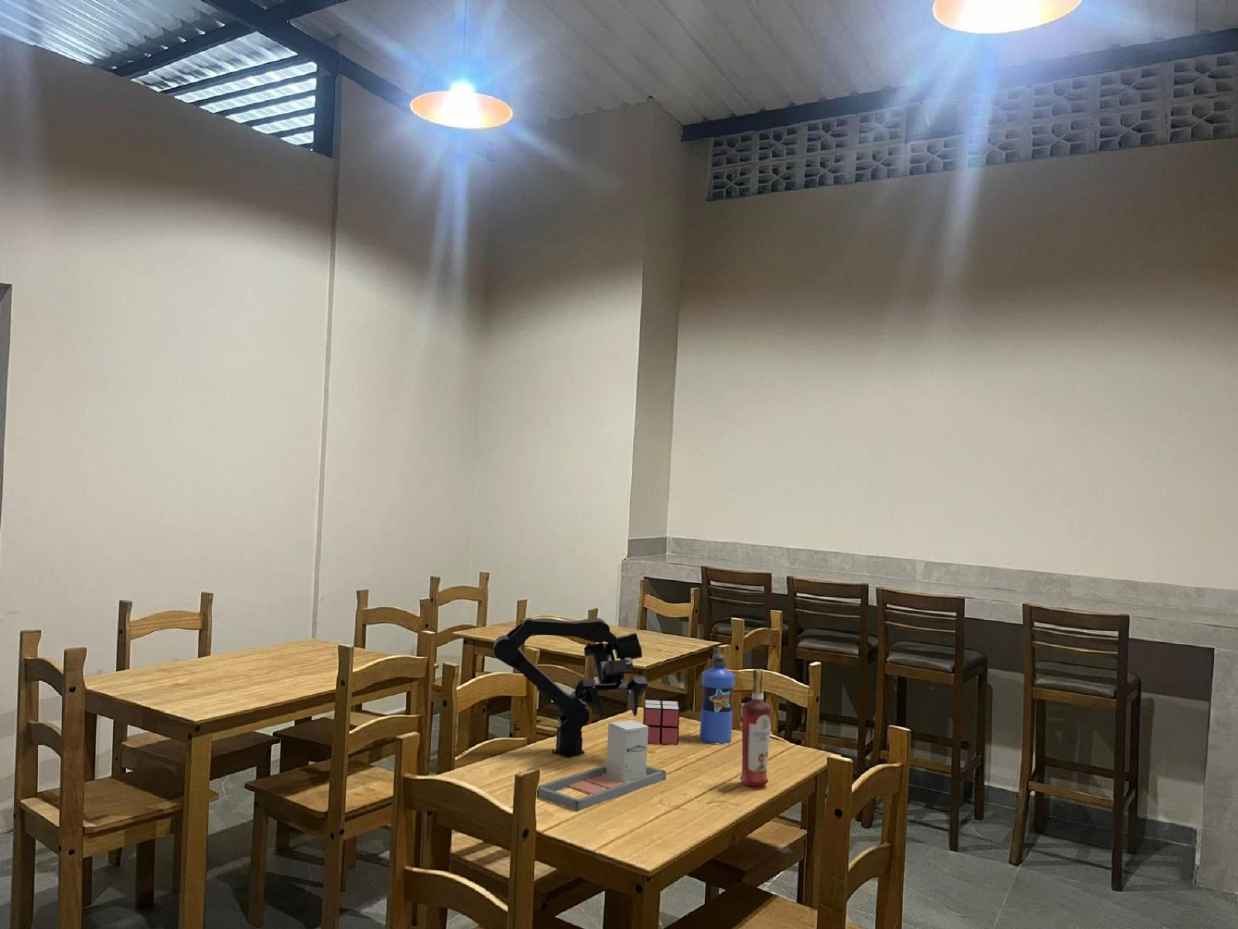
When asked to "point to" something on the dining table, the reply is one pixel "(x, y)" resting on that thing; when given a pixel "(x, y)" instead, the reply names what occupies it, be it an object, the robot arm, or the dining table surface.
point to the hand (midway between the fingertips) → (619, 716)
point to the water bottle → (717, 702)
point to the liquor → (755, 735)
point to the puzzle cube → (662, 721)
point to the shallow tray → (597, 792)
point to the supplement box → (627, 750)
